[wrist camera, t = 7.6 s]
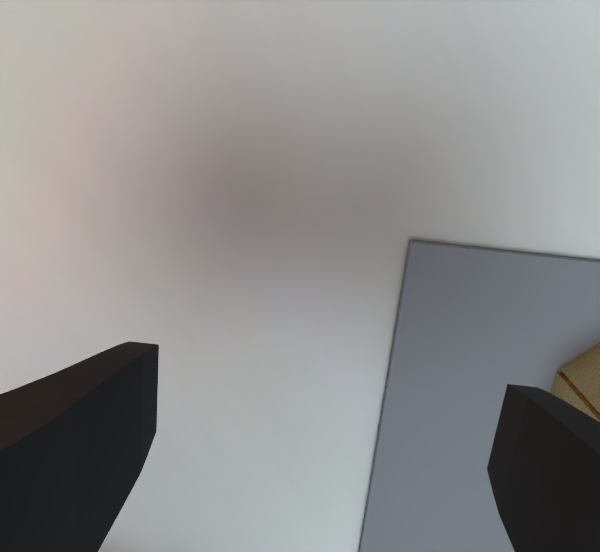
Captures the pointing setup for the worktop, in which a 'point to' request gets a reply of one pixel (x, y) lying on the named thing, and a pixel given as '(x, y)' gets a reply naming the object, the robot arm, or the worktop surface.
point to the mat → (466, 385)
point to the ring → (581, 382)
